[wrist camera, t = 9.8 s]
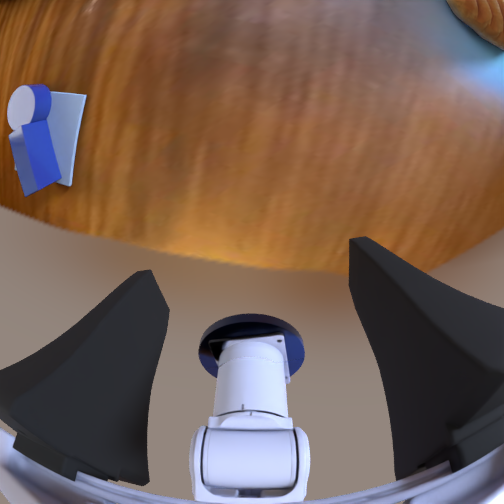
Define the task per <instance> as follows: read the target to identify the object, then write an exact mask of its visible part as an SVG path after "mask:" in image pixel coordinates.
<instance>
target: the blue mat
mask: <svg viewBox="0 0 504 504" xmlns="http://www.w3.org/2000/svg"><path fill="white" fill-rule="evenodd" d="M50 93H51V97H52V105H51V110H50V113H49V115H48V117H47V119H46V120H47V122H48V127H49V131H50V135H51V140H52V144H53V148H54V152H55V155H56V159H57V163H58V166H59V170H60V173H61V176H62V178H61V179H59V180H57V181H56V183H60V184H63V185H66V186H71V185H72V177H73V167H74V159H75V152H76V145H77V139H78V133H79V128H80V123H81V118H82V113H83V109H84V104H85V100H86V96H87V95H81V94H72V93H62V92H50ZM15 170H17V169H16V165H15Z"/></svg>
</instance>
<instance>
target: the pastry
mask: <svg viewBox="0 0 504 504" xmlns="http://www.w3.org/2000/svg"><path fill="white" fill-rule="evenodd" d="M446 1H447V3H448V4H449V6H450V8H451V9H452V11H453V13H454V14H455V15H456V16H457V17H458V18H459V19H460V20H462V21H463V23H465V24H466V25H468V26H470V27H471V28H472V29H473V30H474V31H475V32H476V34H478V35H479V36H480V37H481V38H482V39H484V40H487V41H488V42H490V43H492V44H493V45H495V46H497V47H499V48H500V49H502V50H504V0H446Z"/></svg>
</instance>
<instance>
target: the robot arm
mask: <svg viewBox="0 0 504 504" xmlns="http://www.w3.org/2000/svg"><path fill="white" fill-rule="evenodd" d="M349 288H350V292H351V295H352V299H353V302H354V305H355V309H356V311H357V314H358V316H359V318H360V321H361V323H362V326H363V328H364V330H365V333H366V335H367V338H368V340H369V342H370V345H371V347H372V350H373V352H374V355H375V357H376V360H377V363H378V366H379V369H380V374H381V378H382V381H383V386H384V391H385V395H386V401H387V406H388V411H389V417H390V423H391V431H392V439H393V451H394V470H395V476H396V481H395V482H392V483H389V484H385V485H382V486H379V487H375V488H372V489H368V490H364V491H360V492H355V493H351V494H346V495H341V496H336V497H330V498H324V499H318V500H310V501H304V497H305V496H306V486H307V479H308V476H309V471H310V449H309V442H308V438H307V436H306V433H305V432H304V431H302V429H301V428H300V427H294V428H293V425H292V418H288V409H287V396H286V384H288V383H290V374H289V368H288V361H287V354H286V348H285V341H284V335H283V333H280V332H278V333H270V334H262V335H253V336H244V337H235V338H224V339H213V340H210V341H209V343H208V344H209V347H210V349H211V352H212V354H213V356H214V358H215V361H216V363H217V365H218V376H217V385H216V393H215V403H214V411H213V417H209V420H208V426H200V427H199V429H197V430H196V431H195V432H194V434H193V437H192V440H191V446H190V454H189V469H190V475H191V478H192V494H193V495H194V499H195V500H196V501H191V500H184V499H178V498H172V497H166V496H161V495H156V494H151V493H146V492H142V491H138V490H134V489H131V488H127V487H123V486H120V485H116V484H113V483H110V482H107V480H108V479H110V480H113V481H116V482H117V481H118V480H120V481H124V482H128V483H132V484H136V485H140V486H144V485H146V484H147V483H149V482H150V480H149V471H148V460H147V426H148V412H149V403H150V395H151V389H152V383H153V379H154V376H155V372H156V368H157V365H158V361H159V358H160V354H161V350H162V347H163V343H164V340H165V336H166V332H167V326H168V319H169V312H170V309H169V307H168V305H167V303H166V301H165V299H164V297H163V295H162V293H161V291H160V289H159V286H158V285H157V282H156V280H155V278H154V276H153V273H152V271H151V270H144V271H137V272H136V273H135V274H133V275H132V276H130V277H129V278H128V279H127V280H125V281H124V282H123V283H122V284H121V285H119V286H118V287H117V288H116V289H115V290H114V291H113V292H111V293H110V294H109V295H108V296H107V297H106V298H105V299H104V300H103V301H102V302H101V303H99V304H98V305H97V306H96V307H95V308H94V309H92V310H91V311H90V312H89V313H88V314H87V315H86V316H84V317H83V318H82V319H81V320H80V321H79V322H78V323H76V324H75V325H74V326H73V327H71V328H70V329H69V330H68V331H66V332H65V333H63V334H62V335H61V336H60V337H58V338H57V339H55V340H54V341H52V342H51V343H49V344H48V345H46V346H45V347H43V348H42V349H40V350H39V351H37V352H36V353H34V354H32V355H30V356H28V357H27V358H25V359H23V360H21V361H19V362H17V363H15V364H13V365H11V366H9V367H6V368H4V369H2V370H0V419H1V420H2V421H3V422H4V423H6V424H7V425H8V426H10V427H11V428H12V429H13V430H15V431H16V432H18V433H17V436H16V438H15V437H14V436H12V435H11V434H10V433H8V432H6V431H5V430H3V429H2V428H0V491H1V492H2V493H3V494H4V496H5V497H6V498H7V500H8V501H9V502H10V504H116V503H118V504H395V503H398V502H401V501H404V500H405V502H404V503H403V504H504V308H501V307H498V306H495V305H492V304H490V303H486V302H484V301H482V300H479V299H477V298H474V297H472V296H469V295H467V294H465V293H462V292H460V291H458V290H456V289H454V288H452V287H450V286H448V285H446V284H444V283H442V282H440V281H438V280H436V279H434V278H432V277H431V276H429V275H427V274H426V273H424V272H422V271H421V270H419V269H417V268H415V267H414V266H412V265H411V264H409V263H407V262H406V261H404V260H403V259H401V258H400V257H398V256H396V255H395V254H393V253H392V252H390V251H389V250H387V249H386V248H384V247H383V246H381V245H379V244H378V243H376V242H375V241H373V240H371V239H370V238H368V237H366V236H365V237H358V238H352V239H349ZM213 346H215V347H213Z"/></svg>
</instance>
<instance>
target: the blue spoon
mask: <svg viewBox="0 0 504 504" xmlns="http://www.w3.org/2000/svg"><path fill="white" fill-rule="evenodd" d="M51 105H52V97H51V93H50V90H49V88H48V87H47V86H45V85H44V84H31V85H22V86H20V87H19V88H17V89H16V90H15V91H14V93H13V94H12V96H11V98H10V101H9V104H8V110H7V118H8V122H9V125H10V127H11V128H12V129H13V130H14V131H13V132H12V133H11V134H9V140H10V145H11V149H12V153H13V157H14V161H15V165H16V169H17V172H18V176H19V179H20V182H21V186H22V189H23V192H24V195H25V197H27V196H29V195H31V194H33V193H35V192H37V191H39V190H41V189H42V188H44V187H46V186H48V185H50V184H52V183H54V182H56V181H57V180H59V179H61V178H62V176H61V173H60V170H59V166H58V163H57V159H56V155H55V152H54V148H53V144H52V140H51V135H50V131H49V127H48V122H47V120H46V119H47V117H48V115H49V113H50V110H51Z"/></svg>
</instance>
